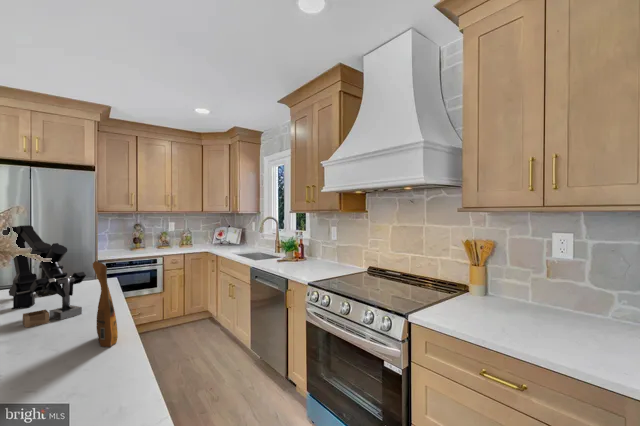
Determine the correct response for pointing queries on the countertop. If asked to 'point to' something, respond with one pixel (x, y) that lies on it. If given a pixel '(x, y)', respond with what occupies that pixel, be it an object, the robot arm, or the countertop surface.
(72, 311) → the block
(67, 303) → the chuck key
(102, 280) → the curved wooden sculpture
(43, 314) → the wooden square frame
